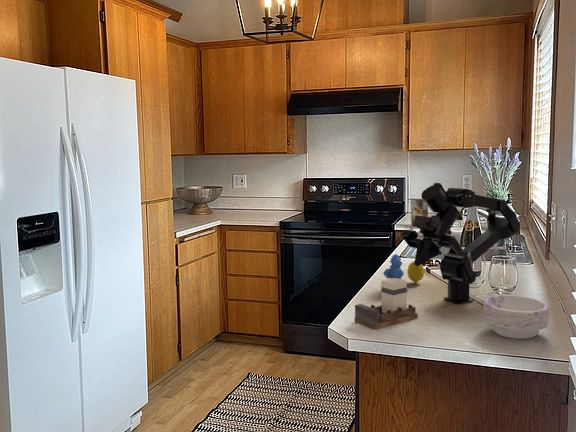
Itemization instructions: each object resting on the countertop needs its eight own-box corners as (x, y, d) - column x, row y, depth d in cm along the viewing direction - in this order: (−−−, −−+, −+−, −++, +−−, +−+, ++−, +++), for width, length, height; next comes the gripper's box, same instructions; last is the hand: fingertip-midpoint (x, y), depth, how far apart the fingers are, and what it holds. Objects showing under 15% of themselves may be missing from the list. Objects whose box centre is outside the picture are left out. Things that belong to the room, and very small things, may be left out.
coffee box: (427, 226, 321) (427, 198, 319) (428, 228, 315) (428, 199, 313) (410, 226, 323) (410, 198, 321) (411, 228, 316) (411, 199, 314)
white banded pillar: (394, 308, 160) (394, 277, 158) (406, 312, 156) (406, 280, 155) (381, 312, 157) (381, 280, 156) (393, 316, 153) (393, 283, 152)
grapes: (381, 286, 190) (381, 251, 189) (401, 286, 190) (401, 251, 188) (384, 295, 179) (384, 258, 177) (406, 295, 178) (406, 258, 177)
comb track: (396, 311, 162) (396, 294, 162) (417, 317, 156) (417, 300, 155) (354, 322, 154) (354, 304, 153) (374, 329, 147) (374, 311, 146)
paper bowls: (553, 345, 132) (554, 312, 131) (484, 341, 136) (485, 309, 135) (543, 325, 147) (543, 295, 146) (481, 322, 151) (481, 293, 150)
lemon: (405, 284, 193) (405, 261, 192) (410, 280, 198) (410, 258, 197) (421, 285, 190) (421, 262, 189) (425, 282, 195) (425, 259, 194)
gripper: (405, 202, 168) (377, 243, 163) (455, 207, 153) (427, 252, 148) (423, 226, 173) (397, 266, 169) (473, 232, 158) (447, 277, 153)
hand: (415, 265), depth 159 cm, fingers closed
